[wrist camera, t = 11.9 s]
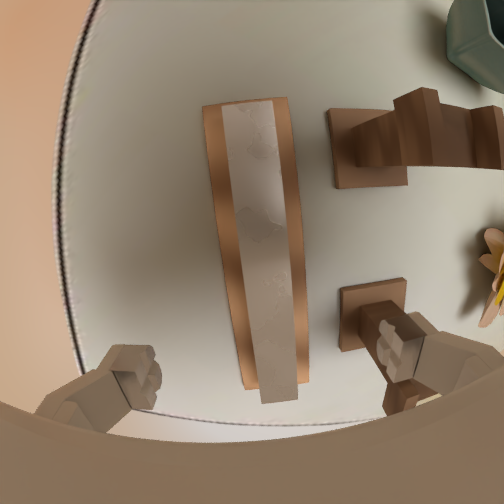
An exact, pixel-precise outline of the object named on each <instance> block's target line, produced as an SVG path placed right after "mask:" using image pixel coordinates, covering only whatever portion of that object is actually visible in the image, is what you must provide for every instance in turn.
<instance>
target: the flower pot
mask: <svg viewBox="0 0 504 504" xmlns="http://www.w3.org/2000/svg"><path fill="white" fill-rule="evenodd" d="M446 37H447V59H448V60H449V61H450V62H451V63H453V64H454V65H456V66H457V67H458V68H460V69H461V70H463V71H464V72H465V73H467V74H468V75H469V76H470V77H472V78H473V79H474V80H475V81H476V82H478V83H479V84H481V85H483V86H485V87H487V88H489V89H492V90H494V91H496V92H499V93H502V94H504V0H454V1H453V3H452V5H451V8H450V10H449V14H448V19H447V25H446Z"/></svg>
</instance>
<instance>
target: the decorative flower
mask: <svg viewBox="0 0 504 504" xmlns="http://www.w3.org/2000/svg"><path fill="white" fill-rule="evenodd" d="M484 238H485V240H486V243H487V245H488V247H489V249H490V251H491V254H492V255H491V254H483V255H482V256H481V257H480V258H479V261H480V262H481V263H482V264H483V265H484V266H485V267H487V268H488V269H489V270H491V271H492V272H494V273H495V274H496V276H495V278H494V281H493V284H492V288H493V289H492V291H491V293H490V295H489V298H488V300H487V303H486V305H485V308H484V310H483V314H482V317H481V319H480V322H479V325H478V326H479V327H487V326H488V325H489V324H491V323H492V321H493V320H494V318H495V317H496V315H497V313H498V311H499V308H500V306H501V303H502V300H503V303H502V307H501V310H500V313H499V315H500V316H501V315H503V314H504V299H503V296H504V233H503V232H501V231H500V230H498V229H495V228H489V229H487V230H486V232H485V234H484Z"/></svg>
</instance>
